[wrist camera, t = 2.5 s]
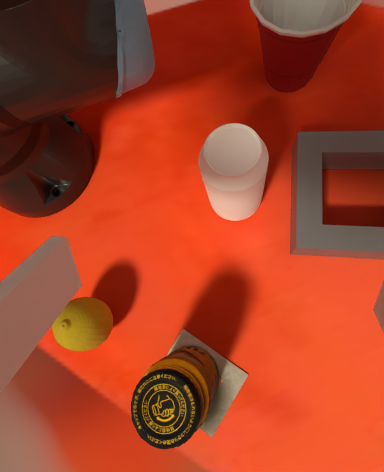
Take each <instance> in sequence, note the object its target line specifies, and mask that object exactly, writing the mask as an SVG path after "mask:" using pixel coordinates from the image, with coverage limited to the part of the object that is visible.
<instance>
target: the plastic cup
mask: <svg viewBox="0 0 384 472" xmlns="http://www.w3.org/2000/svg"><path fill="white" fill-rule="evenodd" d="M362 1H363V0H250V7H251V10H252V11H253V13H254V14H255V15H256V18H257V21H258V26H259V30H260V38H261V46H262V53H263V60H264V64H265V72H266V78H267V81H268V82H269V84H270V85H271V86H272V87H273V88H275V89H276V90H278V91H283V92H292V91H297V90H298V89H300V88H302V87H304V86H305V85H306V83H307V82H308V81H309V80H310V79H311V77H312V76H313V74H314V72H315V70H316V68H317V66H318V65H319V63H320V62H321V61H322V59H323V57H324V55H325V54H326V52H327V50H328V48H329V46H330V45H331V43H332V41H333V39H334V37H335V36H336V34H337V32H338V30H339V29H340V27H341V26H342V25H343V23H344V22H345V21H347V19H348V18H349V17H350V16H351V15H352V13H353V12H354V11H355V10H356V9H357V7H358V6H359V5H360V4H361V2H362Z"/></svg>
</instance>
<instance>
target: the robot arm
mask: <svg viewBox="0 0 384 472" xmlns="http://www.w3.org/2000/svg"><path fill="white" fill-rule="evenodd" d="M154 70H155V56H154V50H153V44H152V39H151V33H150V28H149V23H148V18H147V13H146V9H145V5H144V0H0V206H2V207H3V208H5V209H7V210H9V211H11V212H14V213H16V214H19V215H21V216H25V217H32V218H37V217H45V216H49V215H52V214H55V213H57V212H59V211H61V210H63V209H64V208H66V207H67V206H69V205H70V204H71V203H72V202H73V201H75V200H76V199H77V197H78V196H79V195H80V194H81V193H82V191H83V190H84V188H85V187H86V185H87V183H88V181H89V179H90V176H91V173H92V170H93V164H94V151H93V147H92V143H91V141H90V139H89V137H88V135H87V134H86V132H85V131H84V130H83V129H82V128H81V127H80V126H79V125H78V124H77V122H76V121H74V120H73V119H72V118H71V117H69V116H68V115H66V113H69V112H72V111H75V110H79V109H82V108H85V107H88V106H91V105H94V104H97V103H100V102H103V101H106V100H109V99H112V98H119V97H121V96H122V94H123V93H125V92H128V91H130V90H132V89H135V88H137V87H140V86H142V85H144V84H146V83H147V82H148V81H149V80H150V78H151V77H152V76H153V73H154ZM81 286H82V283H81V280H80V277H79V274H78V271H77V267H76V264H75V261H74V258H73V255H72V252H71V249H70V246H69V242H68V239H67V237H55V236H51V237H50V238H49V239H48V240H47V241H46V242H45V243H43V244H42V245H41V246H40V247H39V248H38V249H37V250H36V251H35V252H33V253H32V254H31V255H30V256H29V257H28V258H27V259H26V260H25V261H23V262H22V263H21V264H20V265H19V266H18V267H17V268H16V269H15V270H13V271H12V272H11V273H10V274H9V275H8V276H7V277H6V278H5V279H3V280H2V281H1V282H0V394H1V392H2V391H3V390H4V388H5V387H6V385H7V384H8V383H9V381H10V380H11V379H12V378H13V376H14V375H15V373H16V372H17V371H18V370H19V368H20V367H21V366H22V364H23V363H24V362H25V360H26V359H27V357H28V356H29V355H30V354H31V352H32V351H33V350H34V348H35V347H36V346H37V344H38V343H39V342H40V340H41V339H42V338H43V336H44V335H45V334H46V332H47V331H48V330H49V328H50V327H51V326H52V324H53V323H54V322H55V320H56V319H57V318H58V316H59V315H60V314H61V312H62V311H63V310H64V308H65V307H66V306H67V304H68V303H69V302H70V300H71V299H72V298H73V296H74V295H75V294H76V292H77V291H78V290H79V288H80V287H81ZM373 310H374V313H375V315H376V317H377V319H378V321H379V324H380V326H381V328H382V330H383V332H384V281H383V284H382V287H381V289H380V292H379V295H378V298H377V301H376V303H375V306H374V309H373Z"/></svg>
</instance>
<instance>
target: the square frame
mask: <svg viewBox="0 0 384 472" xmlns="http://www.w3.org/2000/svg"><path fill="white" fill-rule="evenodd" d="M322 169H384V130H380V131H305V132H297V135H296V139H295V142H294V145H293V148H292V177H291V235H290V254H296V255H314V256H331V257H348V258H366V259H383V260H384V227H370V226H345V225H322Z"/></svg>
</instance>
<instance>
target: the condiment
mask: <svg viewBox="0 0 384 472" xmlns="http://www.w3.org/2000/svg"><path fill="white" fill-rule="evenodd" d="M220 375H221V379H222V381H223V383H221V379H220V378H219V376H220ZM247 376H248V374H247V373H245V372H244V371H242V370H241V369H239V368H238V367H237V366H235V365H234V364H232V363H231V362H229V361H228V360H227V359H225V358H224V357H222V356H221V355H220V354H218V353H217V352H216V351H214V350H213V349H211V348H210V347H209V346H207V345H206V344H204V343H203V342H201V341H200V340H199V339H197V338H196V337H194V336H193V335H192V334H190V333H189V332H187V331H186V330H184V329H183V330H182V331H181V333H180V335H179V336H178V338H177V339H176V341H175V343H174V344H173V346H172V348H171V349H170V351H169V352H168V354H167V356H166V357H164V358H163V359H161V360H160V361H158V362H156V363H155V364H153V365H152V366H151V367H150V368H149V369H148V371H147V372H146V373H145V374H144V376H143V378H142V379H141V380H140V382H139V383H138V385H137V386H136V389H135V390H134V393H133V397H132V401H131V414H132V422H133V424H134V426H135V428H136V430H137V432H138V434H139V435H140V437H141V438H142V439H143V440H145V441H146V442H147V443H149V444H150V445H152V446H154V447H156V448H160V449H169V448H175V447H176V446H177V447H179V446H181V445H182V444H183V443H185V442H187V441H188V439H190V438H191V437H192V435H193V434H194V432H196V431H197V430H198V429H199V428H201V429H202V430H203V431H204V432H205V433H207V434H208V435H209V436H210V437H213V435H214V433H215V431H216V429H217V428H218V426H219V424H220V423H221V421H222V419H223V417H224V416H225V414H226V412H227V410H228V409H229V407H230V405H231V404H232V402H233V400H234V398H235V397H236V395H237V393H238V392H239V390H240V388H241V386H242V385H243V383H244V381H245V380H246V378H247Z"/></svg>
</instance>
